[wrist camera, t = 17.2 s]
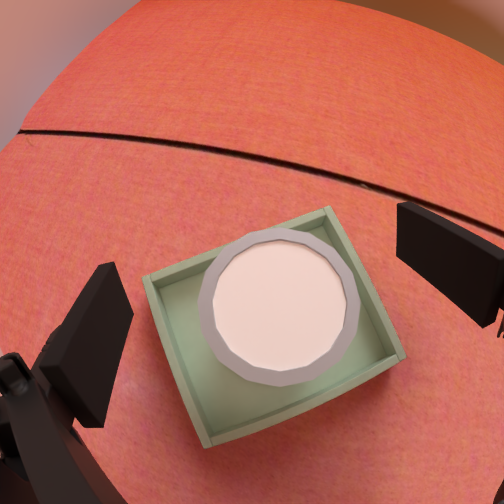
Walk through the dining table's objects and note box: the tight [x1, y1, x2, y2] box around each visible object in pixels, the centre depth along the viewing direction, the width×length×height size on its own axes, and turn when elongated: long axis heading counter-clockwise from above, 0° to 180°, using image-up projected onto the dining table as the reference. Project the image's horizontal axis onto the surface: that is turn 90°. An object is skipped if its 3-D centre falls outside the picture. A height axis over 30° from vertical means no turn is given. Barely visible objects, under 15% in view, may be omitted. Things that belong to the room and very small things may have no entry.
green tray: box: [142, 205, 407, 449], centre depth 19 cm, size 13×11×2 cm
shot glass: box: [197, 227, 361, 387], centre depth 16 cm, size 7×7×7 cm
